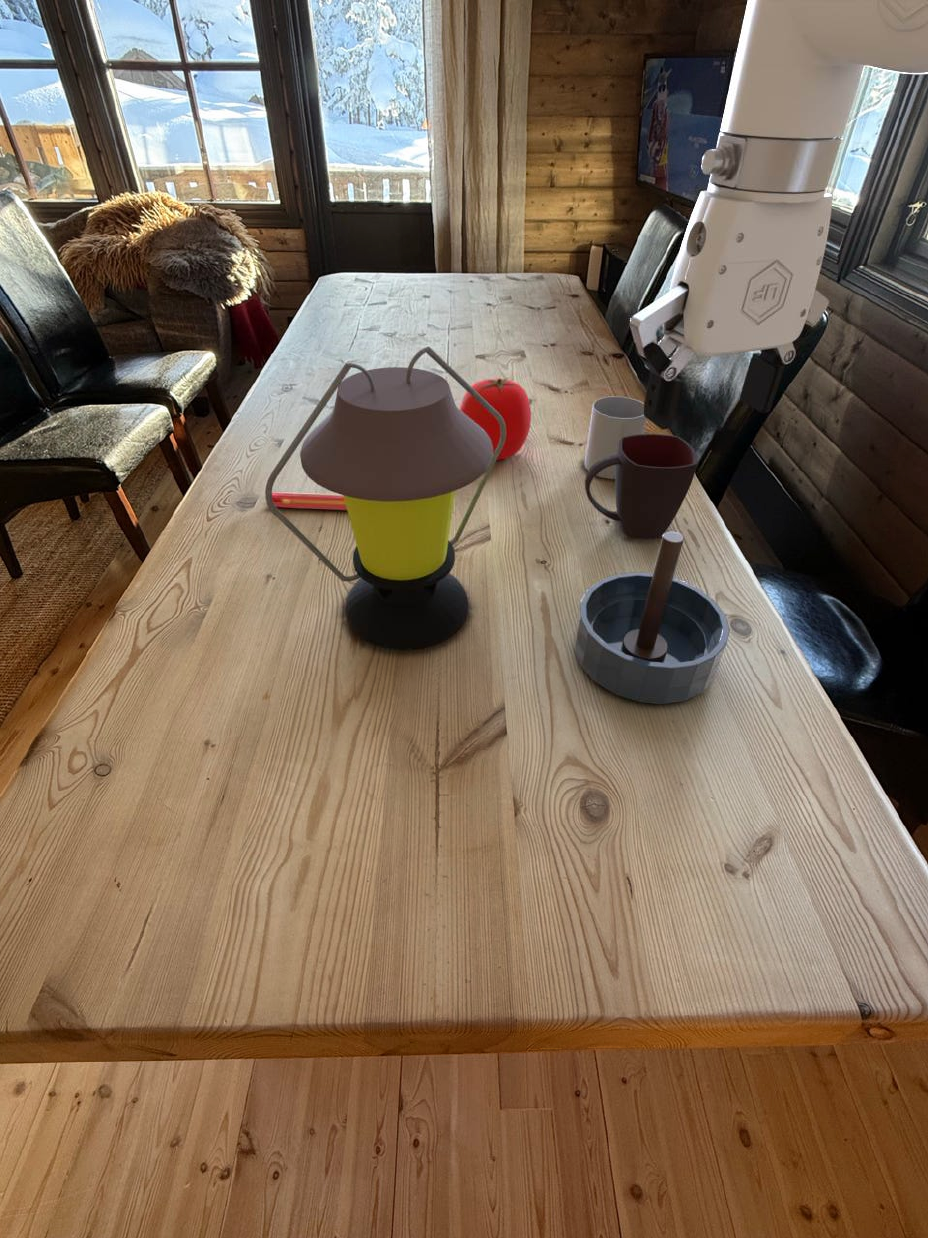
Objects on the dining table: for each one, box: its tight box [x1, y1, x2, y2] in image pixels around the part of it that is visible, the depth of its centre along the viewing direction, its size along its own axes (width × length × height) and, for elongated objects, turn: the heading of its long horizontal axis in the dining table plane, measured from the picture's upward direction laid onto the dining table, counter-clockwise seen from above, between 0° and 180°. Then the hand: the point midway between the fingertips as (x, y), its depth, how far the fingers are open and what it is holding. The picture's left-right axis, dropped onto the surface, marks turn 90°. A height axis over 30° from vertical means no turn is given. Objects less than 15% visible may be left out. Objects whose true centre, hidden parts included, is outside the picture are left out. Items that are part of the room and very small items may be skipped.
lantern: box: [264, 346, 506, 651], centre depth 70 cm, size 25×19×30 cm
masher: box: [622, 530, 685, 662], centre depth 68 cm, size 5×5×15 cm
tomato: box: [459, 377, 532, 461], centre depth 106 cm, size 12×12×13 cm
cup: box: [584, 395, 648, 480], centre depth 104 cm, size 8×8×10 cm
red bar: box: [272, 491, 347, 511], centre depth 96 cm, size 24×2×5 cm
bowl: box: [573, 571, 731, 705], centre depth 72 cm, size 15×15×6 cm
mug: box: [584, 433, 699, 540], centre depth 89 cm, size 10×14×12 cm
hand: (706, 414), depth 55 cm, fingers open, 9 cm apart
